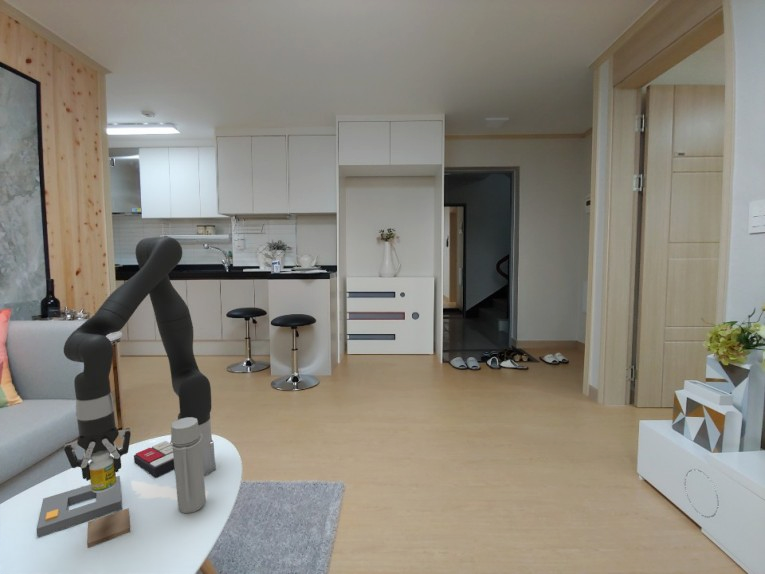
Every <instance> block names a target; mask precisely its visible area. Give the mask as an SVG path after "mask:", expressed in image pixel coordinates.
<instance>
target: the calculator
mask: <svg viewBox="0 0 765 574" xmlns="http://www.w3.org/2000/svg"><path fill="white" fill-rule="evenodd" d="M172 446H173V445H172ZM133 462H134V464H135V465H136V466H137V467H140V468H141V469H142V470H143V471H146V472H147V473H148V474H149V475H150V474H151V475H152V477H153V478H154V479H158V478H159V477H162V476H164V475H165V474H168V473H170V472H173V470H174V471H175V467H174V456H173V447H171V445H170V442H168V441H167V440H164V441H161V442H159V443H157V444H155V445H153V446H151V447H147V448H145V449H143V450H141V451H138V452H136V453H135V454H134V455H133ZM151 475H150V476H151Z"/></svg>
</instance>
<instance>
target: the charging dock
mask: <svg viewBox="0 0 765 574" xmlns="http://www.w3.org/2000/svg"><path fill="white" fill-rule="evenodd" d="M120 476H121V475H116V485H115V486H114V487H113V488H111V489H110V490H108V491H105V492H101V493H94V492H93V491H92V489H91V483H90V484H88V485H84V486H80V487H77V488H75V489H74V488H73V489H71V490H67V491H64V492H60V493H58V494H53V495H51V496H47V497H44V498H42V503H41V507H40V512H39V517H38V520H37V524H36V534H37V538H40V537H45V536H47V535H49V534H52V533H55V532H59V531H62V530H65V529H68V528H71V527H73V526H77V525H79V524H82V523H85V522H89V521H92V520H95V519H98V518H101V517H104V516H107V515H109V514H112V513H115V512H118V511H121V510H123V503H122V501H123V500H122V486H121V485H122V484H121V478H120ZM95 498H96V501H94V502H90V503H87V504H85V505H81V506H78V507H75V508H72V509H70V506H73V505H76V503H77V504H79V503H83V502H86V501H89V500H92V499H95Z"/></svg>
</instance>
